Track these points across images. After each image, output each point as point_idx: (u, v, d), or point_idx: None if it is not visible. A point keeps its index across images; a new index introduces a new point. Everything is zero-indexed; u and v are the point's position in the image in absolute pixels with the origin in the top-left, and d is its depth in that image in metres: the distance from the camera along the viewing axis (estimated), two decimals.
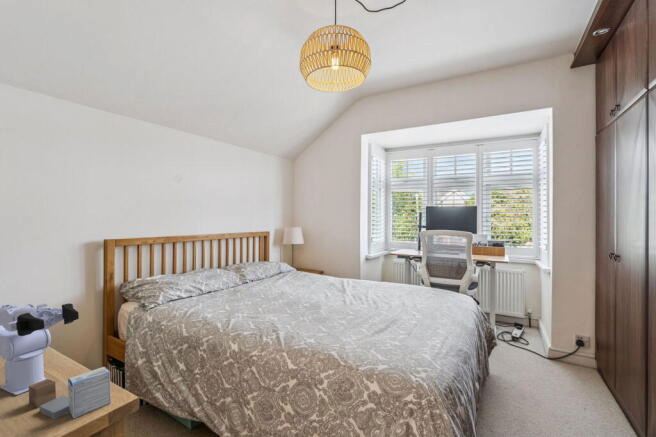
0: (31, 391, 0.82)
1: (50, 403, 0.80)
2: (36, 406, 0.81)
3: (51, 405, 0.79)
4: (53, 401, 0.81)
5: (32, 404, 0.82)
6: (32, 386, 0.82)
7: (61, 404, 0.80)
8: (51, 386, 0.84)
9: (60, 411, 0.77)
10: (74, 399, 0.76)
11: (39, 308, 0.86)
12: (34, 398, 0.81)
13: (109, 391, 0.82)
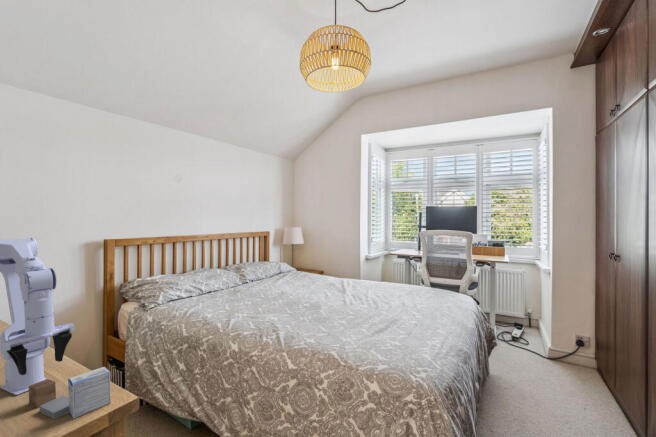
0: (31, 391, 0.82)
1: (50, 403, 0.80)
2: (36, 406, 0.81)
3: (51, 405, 0.79)
4: (53, 401, 0.81)
5: (32, 404, 0.82)
6: (32, 386, 0.82)
7: (61, 404, 0.80)
8: (51, 386, 0.84)
9: (60, 411, 0.77)
10: (74, 399, 0.76)
11: (42, 337, 0.81)
12: (34, 398, 0.81)
13: (109, 391, 0.82)
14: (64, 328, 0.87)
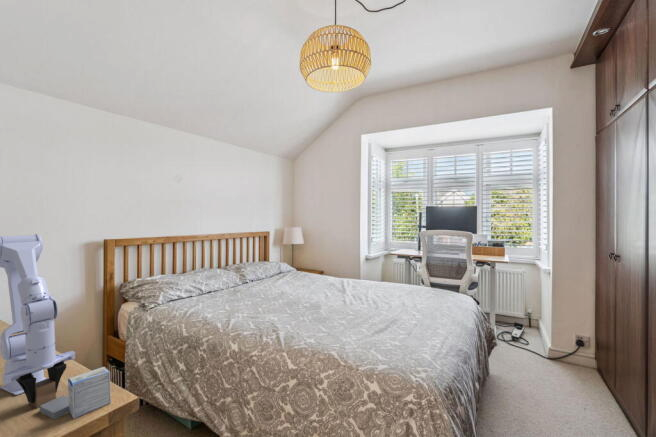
0: None
1: (50, 403, 0.80)
2: (36, 406, 0.81)
3: (51, 405, 0.79)
4: (53, 401, 0.81)
5: (32, 404, 0.82)
6: None
7: (61, 404, 0.80)
8: (51, 386, 0.84)
9: (60, 411, 0.77)
10: (74, 399, 0.76)
11: None
12: None
13: (109, 391, 0.82)
14: (65, 357, 0.87)
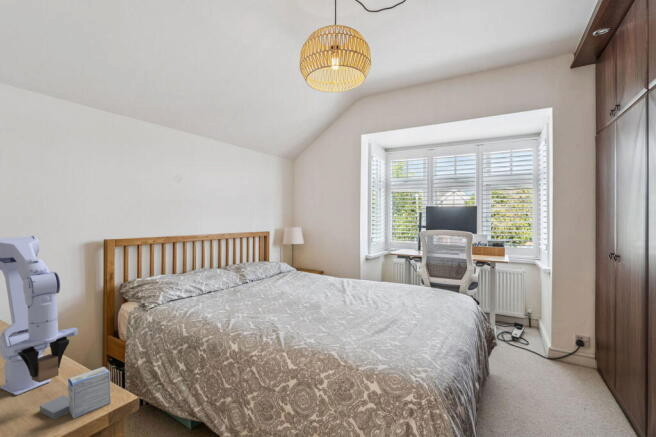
0: None
1: (50, 403, 0.80)
2: (39, 380, 0.80)
3: (51, 405, 0.79)
4: (53, 401, 0.81)
5: (34, 378, 0.81)
6: None
7: (61, 404, 0.80)
8: (54, 361, 0.83)
9: (60, 411, 0.77)
10: (74, 399, 0.76)
11: (46, 342, 0.80)
12: None
13: (109, 391, 0.82)
14: (68, 332, 0.86)
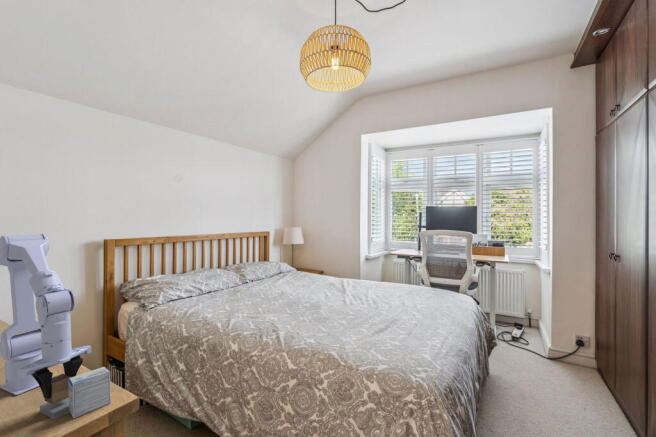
0: None
1: (50, 403, 0.80)
2: (52, 402, 0.78)
3: (51, 405, 0.79)
4: None
5: (48, 400, 0.78)
6: None
7: (61, 404, 0.80)
8: (67, 381, 0.80)
9: (60, 411, 0.77)
10: (74, 399, 0.76)
11: None
12: None
13: (109, 391, 0.82)
14: (81, 351, 0.83)
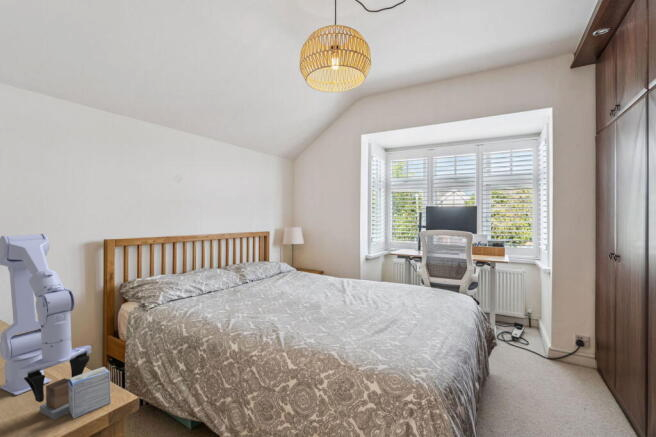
0: (49, 391, 0.79)
1: None
2: (54, 407, 0.78)
3: None
4: None
5: (50, 405, 0.79)
6: (50, 386, 0.79)
7: None
8: None
9: (59, 411, 0.77)
10: (74, 399, 0.76)
11: None
12: (53, 398, 0.78)
13: (109, 391, 0.82)
14: (81, 351, 0.83)
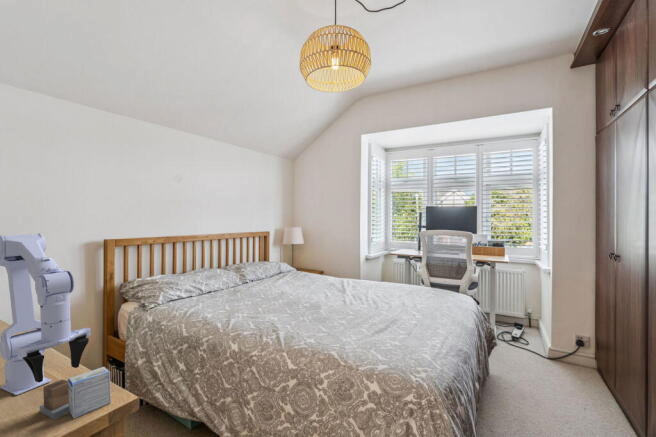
0: (46, 392, 0.78)
1: None
2: (52, 408, 0.77)
3: None
4: None
5: (47, 406, 0.78)
6: (47, 387, 0.79)
7: None
8: (67, 386, 0.80)
9: (59, 412, 0.77)
10: (74, 399, 0.76)
11: (59, 343, 0.78)
12: (50, 399, 0.78)
13: (109, 391, 0.82)
14: (81, 333, 0.83)
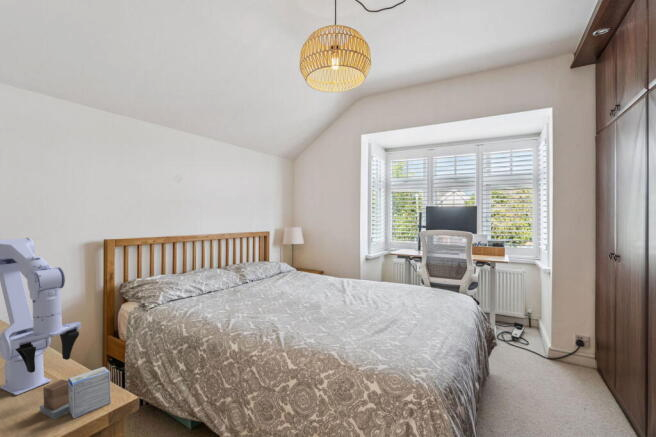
0: (47, 393, 0.78)
1: None
2: (53, 408, 0.77)
3: None
4: None
5: (48, 406, 0.78)
6: (47, 387, 0.79)
7: None
8: (67, 386, 0.80)
9: (60, 411, 0.77)
10: (74, 399, 0.76)
11: (50, 336, 0.82)
12: (51, 399, 0.78)
13: (109, 391, 0.82)
14: (71, 326, 0.88)
